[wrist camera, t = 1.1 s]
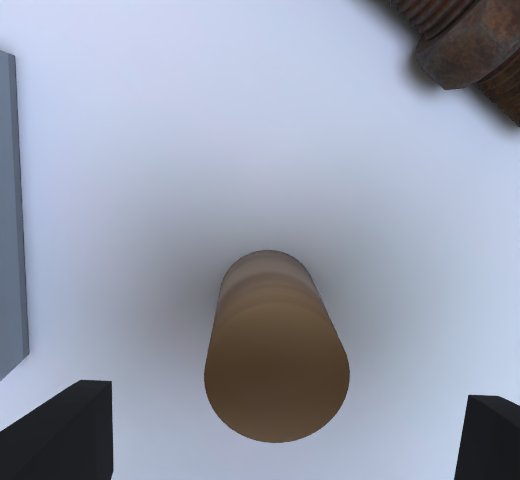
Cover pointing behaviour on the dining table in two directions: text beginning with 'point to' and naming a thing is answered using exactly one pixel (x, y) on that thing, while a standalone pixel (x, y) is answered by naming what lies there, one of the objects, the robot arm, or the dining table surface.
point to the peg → (274, 352)
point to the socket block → (11, 228)
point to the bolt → (470, 46)
